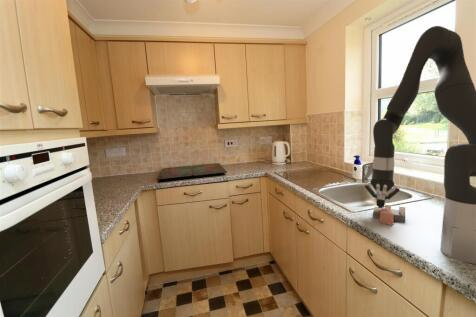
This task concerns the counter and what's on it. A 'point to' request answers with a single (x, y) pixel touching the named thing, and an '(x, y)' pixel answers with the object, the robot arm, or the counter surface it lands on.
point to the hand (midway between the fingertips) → (380, 207)
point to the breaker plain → (401, 209)
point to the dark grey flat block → (397, 214)
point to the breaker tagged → (388, 206)
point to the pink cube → (386, 216)
